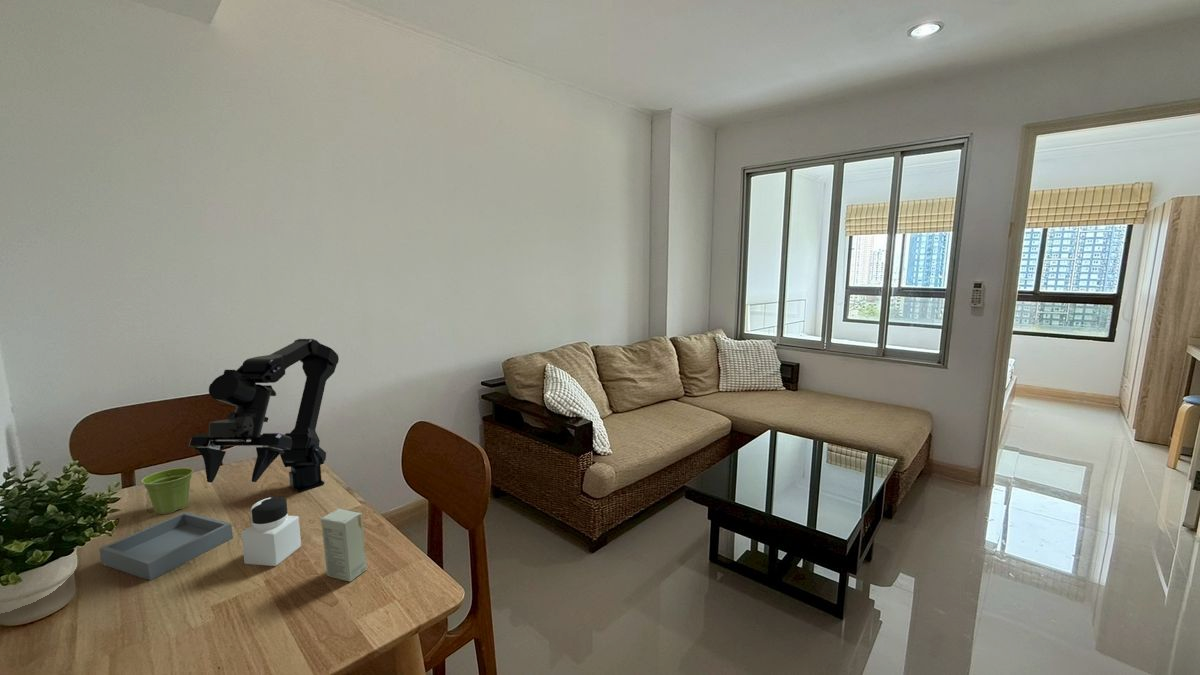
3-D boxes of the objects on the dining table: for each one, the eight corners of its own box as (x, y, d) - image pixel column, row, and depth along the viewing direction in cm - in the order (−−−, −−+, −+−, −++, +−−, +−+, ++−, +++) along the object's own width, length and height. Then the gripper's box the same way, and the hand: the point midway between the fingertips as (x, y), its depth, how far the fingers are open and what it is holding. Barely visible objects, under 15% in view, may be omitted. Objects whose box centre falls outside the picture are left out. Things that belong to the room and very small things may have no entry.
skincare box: (368, 569, 93) (364, 512, 91) (350, 583, 89) (345, 523, 87) (343, 562, 95) (339, 506, 93) (324, 575, 91) (320, 517, 89)
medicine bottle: (302, 546, 100) (297, 494, 99) (276, 567, 93) (270, 511, 92) (271, 544, 101) (266, 492, 99) (243, 564, 94) (237, 509, 92)
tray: (187, 525, 108) (185, 511, 107) (232, 538, 103) (231, 523, 102) (101, 564, 93) (99, 548, 93) (150, 580, 89) (147, 563, 88)
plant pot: (156, 503, 118) (152, 470, 116) (203, 496, 121) (199, 464, 120) (137, 521, 109) (132, 486, 108) (188, 513, 113) (184, 480, 112)
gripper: (180, 402, 98) (155, 479, 92) (271, 402, 99) (252, 478, 93) (218, 413, 108) (197, 483, 103) (300, 413, 109) (284, 482, 103)
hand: (231, 482), depth 100 cm, fingers open, 9 cm apart
